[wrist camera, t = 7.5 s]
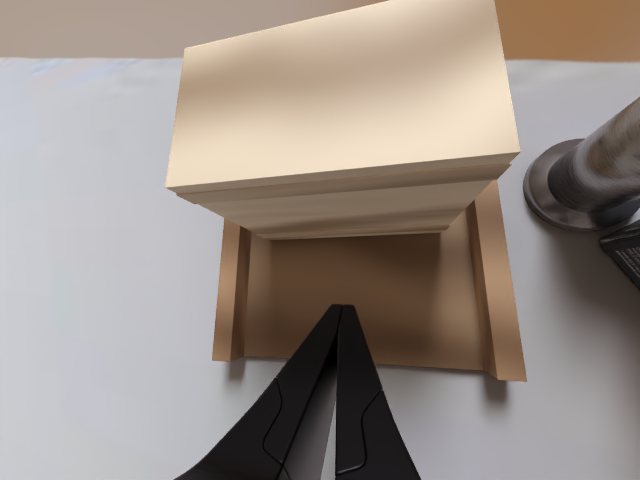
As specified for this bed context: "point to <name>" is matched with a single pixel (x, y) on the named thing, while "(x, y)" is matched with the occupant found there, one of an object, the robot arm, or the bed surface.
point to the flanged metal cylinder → (589, 176)
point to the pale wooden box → (347, 121)
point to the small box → (625, 249)
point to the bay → (378, 293)
